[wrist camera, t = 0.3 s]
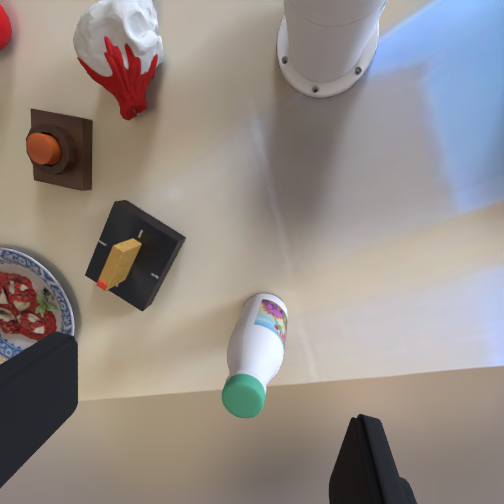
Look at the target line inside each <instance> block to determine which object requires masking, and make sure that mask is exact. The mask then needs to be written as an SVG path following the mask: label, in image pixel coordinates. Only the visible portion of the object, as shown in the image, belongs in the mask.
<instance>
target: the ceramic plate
mask: <svg viewBox="0 0 504 504" xmlns="http://www.w3.org/2000/svg"><path fill="white" fill-rule="evenodd" d="M74 328H75V326H74V316H73V312H72V308H71V305H70V302H69V300H68V298H67V296H66V294H65V292H64V290H63V288H62V287H61V285H60V284H59V283H58V281H57V280H56V279H55V277H54V276H53V275H52V274H51V273H50V272H49V271H48V270H47V269H46V268H45V267H44V266H42V265H41V264H40V263H39V262H37V261H36V260H34V259H33V258H31V257H30V256H28V255H26V254H24V253H21V252H19V251H16V250H12V249H8V248H0V356H1V357H3V358H5V359H7V360H9V359H10V358H12V357H13V356H15V355H17V354H18V353H20V352H21V351H23V350H25V349H26V348H28V347H30V346H31V345H33V344H34V343H36V342H38V341H39V340H41V339H42V338H44V337H46V336H47V335H49V334H51V333H52V332H55V331H58V332H62V333H66V334H69V335H72V336H74Z"/></svg>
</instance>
